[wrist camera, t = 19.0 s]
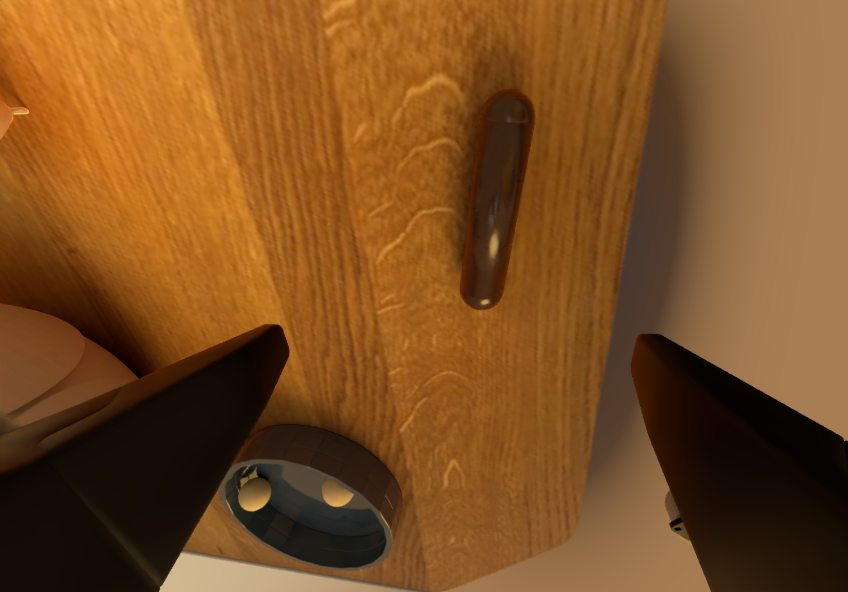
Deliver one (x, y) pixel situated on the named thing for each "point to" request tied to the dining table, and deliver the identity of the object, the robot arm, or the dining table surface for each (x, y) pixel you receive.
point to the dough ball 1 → (254, 494)
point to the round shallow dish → (316, 498)
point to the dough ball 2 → (335, 493)
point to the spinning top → (8, 116)
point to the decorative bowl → (49, 367)
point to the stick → (495, 195)
